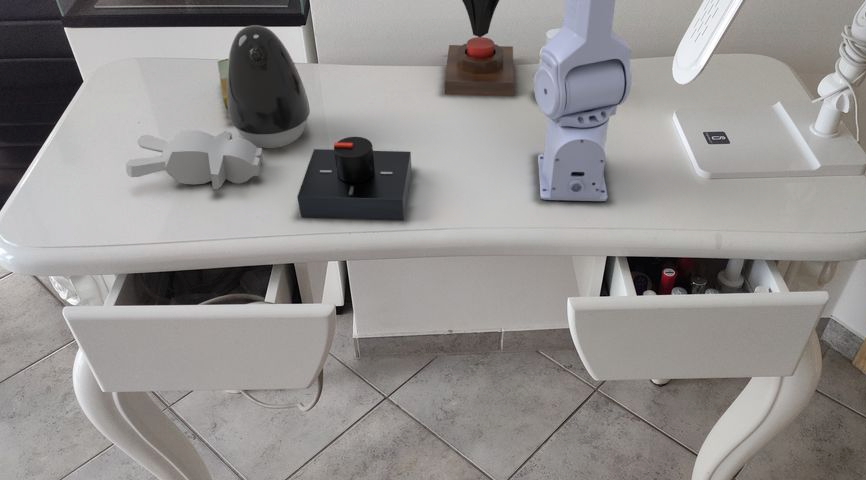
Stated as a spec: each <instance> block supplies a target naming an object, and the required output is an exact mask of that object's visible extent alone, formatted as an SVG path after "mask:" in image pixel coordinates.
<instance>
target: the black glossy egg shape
mask: <svg viewBox="0 0 866 480" xmlns="http://www.w3.org/2000/svg"><path fill="white" fill-rule="evenodd" d="M227 59H228V69H227V104H228V111H227V114H228V113H229V114H228V117H229V120H230V123H231V124H232V126H233V127H235V130H236V131H237V132H238V134H239V135H240V136H241V138H244V139H246V140H248V141H250V142H251V143H252V144H253V145H255V146H256V147H257V148H262V149H263V148H264V149H277V148H282V147H285V146H288V145H290V144H292V143H294V142H295V141H297V140H298V139H299V138H300V137H301V136H302V134H303V133H304V131H305V129H306V127H307V123H308V118H309V116H310V112H311V111H310V109H311V107H310V102H309V99H308V96H307V92H306V90H305V89H306V88H305V86H304V83H303V81H302V78H301V76H300V73H299V71H298V69H297V67H296V65H295V62H294V60H293V58H292V57H291V54H290V52H289V51H288V49H287V47H286V46H285V45H284V43H283V42H282V41H281V39H280V38H279V37H278V35H276V33H274V32H273V31H272V30H271V29H270V28H268V27H266V26H264V25H258V24H256V25H255V24H254V25H253V24H252V25H248V26H245V27H243V28H242V29H241V30H239V31H238V32H237V34H236V35H235V36H234V39H233V41H232V43H231V47H230V50H229V55H228V58H227Z"/></svg>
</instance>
